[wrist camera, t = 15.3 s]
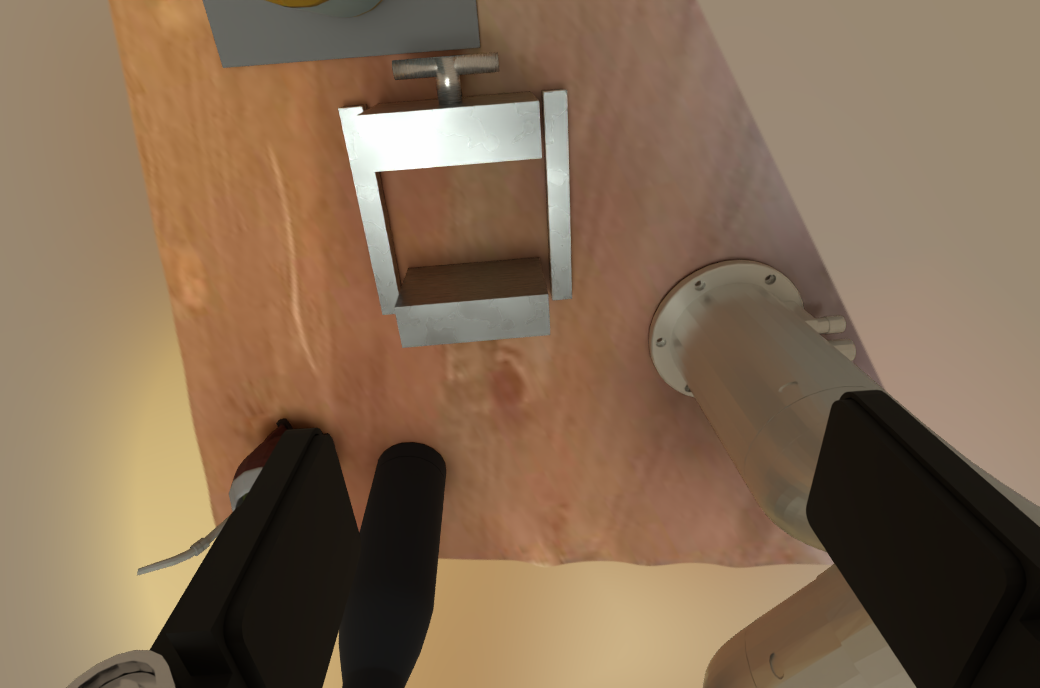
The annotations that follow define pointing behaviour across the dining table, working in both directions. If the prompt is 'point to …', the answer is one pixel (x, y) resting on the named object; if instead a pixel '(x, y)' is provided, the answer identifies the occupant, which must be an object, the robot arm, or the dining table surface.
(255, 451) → the mate gourd
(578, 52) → the dining table surface
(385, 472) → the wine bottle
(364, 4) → the bottle
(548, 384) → the dining table surface
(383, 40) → the mat
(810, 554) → the dining table surface
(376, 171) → the vise
